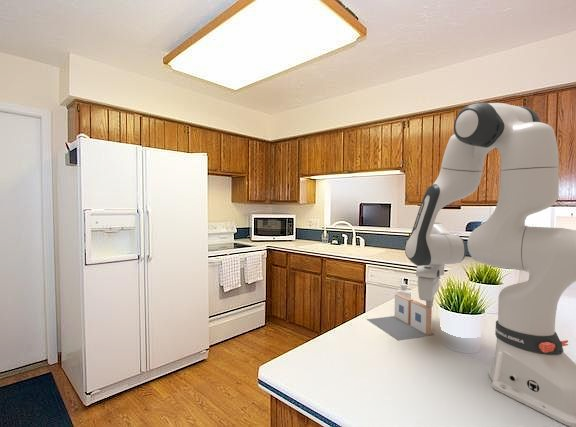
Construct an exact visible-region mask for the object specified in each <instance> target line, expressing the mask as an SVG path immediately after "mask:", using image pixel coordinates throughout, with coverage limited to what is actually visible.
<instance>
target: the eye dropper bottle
mask: <svg viewBox="0 0 576 427" xmlns="http://www.w3.org/2000/svg"><path fill="white" fill-rule="evenodd" d="M396 294H401V295H403V296H405V297H407V298H410V299H412V294H411V291H410V290H408V284H406V281H405V280H403V281H402V283H401V284H400V289H397V291H396Z"/></svg>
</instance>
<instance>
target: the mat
mask: <svg viewBox="0 0 576 427" xmlns="http://www.w3.org/2000/svg"><path fill="white" fill-rule="evenodd" d="M366 321H367V322H369V323H372V325H373V326H375V327H377V328H378V329H380V330H382V331H383V332H384V333H386V334H387V335H388V336H391V337H392V338H394V339H395V340H397V341H399V342H400V341H405V340H411V339H412V340H413V339H419V338H426V337H431V336H436V334H435V333H433V332H431V334H429V335H426V334H424V333H422V332H420V331H419V330H417V329H415V328H413V327H411V326H410V325H408V324H406V323H404V322H402V321H401V320H399V319H397V318H395V315H392V316H384V317H375V318H366Z"/></svg>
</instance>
